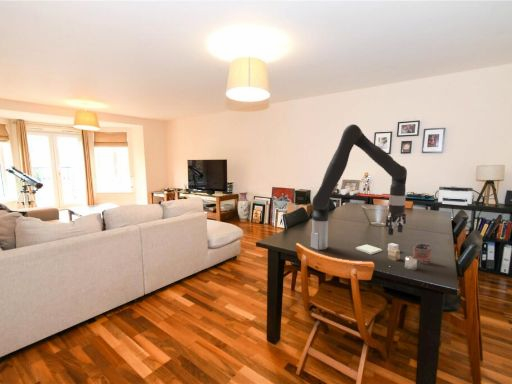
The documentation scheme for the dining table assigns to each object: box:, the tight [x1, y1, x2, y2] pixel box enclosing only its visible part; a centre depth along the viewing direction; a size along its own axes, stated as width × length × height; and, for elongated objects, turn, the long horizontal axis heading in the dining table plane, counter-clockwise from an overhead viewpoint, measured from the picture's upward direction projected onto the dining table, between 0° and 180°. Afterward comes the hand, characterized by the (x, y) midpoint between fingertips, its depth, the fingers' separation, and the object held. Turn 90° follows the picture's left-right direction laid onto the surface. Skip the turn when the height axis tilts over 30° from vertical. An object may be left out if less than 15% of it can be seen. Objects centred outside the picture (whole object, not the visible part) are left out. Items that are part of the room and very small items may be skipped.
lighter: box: [412, 242, 432, 265], centre depth 131 cm, size 8×3×10 cm, turn 69°
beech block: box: [387, 248, 401, 261], centre depth 136 cm, size 4×4×5 cm
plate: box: [355, 244, 383, 255], centre depth 149 cm, size 10×10×1 cm
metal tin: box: [404, 255, 418, 271], centre depth 124 cm, size 5×5×5 cm
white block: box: [387, 242, 399, 250], centre depth 147 cm, size 4×4×4 cm
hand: (395, 233), depth 134 cm, fingers open, 8 cm apart
